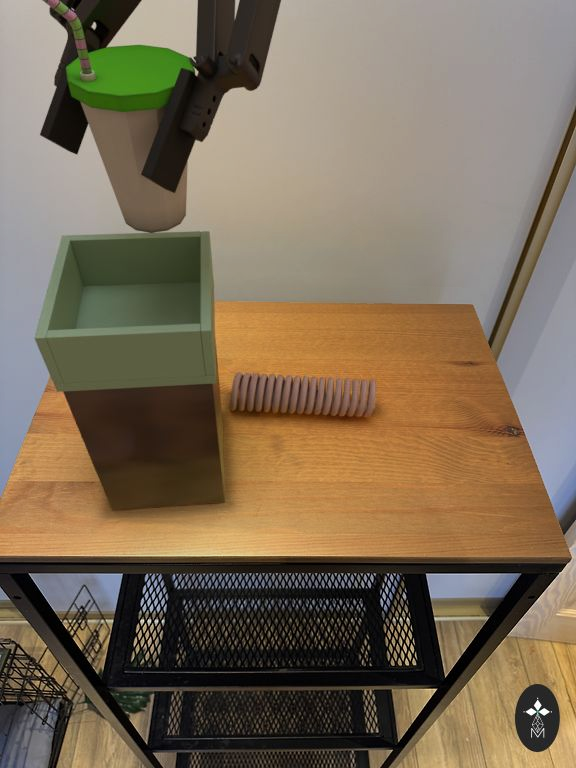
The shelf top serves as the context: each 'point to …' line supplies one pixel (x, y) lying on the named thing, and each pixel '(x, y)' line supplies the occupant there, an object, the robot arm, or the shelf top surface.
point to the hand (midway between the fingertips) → (107, 163)
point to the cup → (128, 120)
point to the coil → (303, 394)
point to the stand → (154, 443)
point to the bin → (130, 312)
